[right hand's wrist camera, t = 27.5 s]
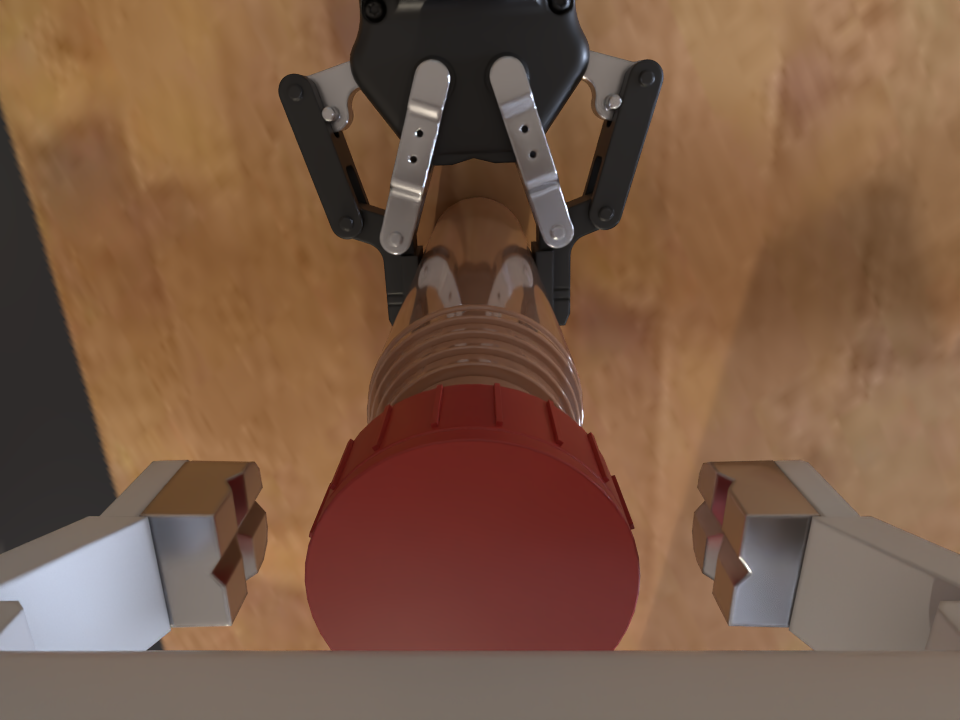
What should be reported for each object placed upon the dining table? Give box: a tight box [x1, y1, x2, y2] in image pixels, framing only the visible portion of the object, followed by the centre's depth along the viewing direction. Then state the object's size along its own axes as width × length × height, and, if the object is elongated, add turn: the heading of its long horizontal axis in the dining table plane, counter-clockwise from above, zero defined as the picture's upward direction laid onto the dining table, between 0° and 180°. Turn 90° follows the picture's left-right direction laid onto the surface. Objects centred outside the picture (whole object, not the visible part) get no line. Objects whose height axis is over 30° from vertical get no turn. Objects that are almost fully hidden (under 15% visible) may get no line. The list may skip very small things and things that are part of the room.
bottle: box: [367, 197, 583, 427], centre depth 21 cm, size 4×4×24 cm
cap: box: [305, 383, 640, 651], centre depth 9 cm, size 4×4×2 cm
